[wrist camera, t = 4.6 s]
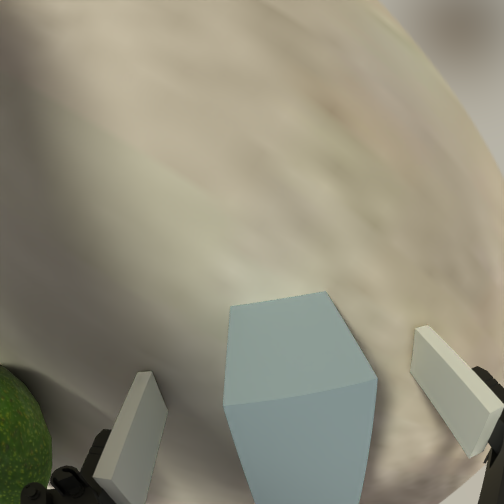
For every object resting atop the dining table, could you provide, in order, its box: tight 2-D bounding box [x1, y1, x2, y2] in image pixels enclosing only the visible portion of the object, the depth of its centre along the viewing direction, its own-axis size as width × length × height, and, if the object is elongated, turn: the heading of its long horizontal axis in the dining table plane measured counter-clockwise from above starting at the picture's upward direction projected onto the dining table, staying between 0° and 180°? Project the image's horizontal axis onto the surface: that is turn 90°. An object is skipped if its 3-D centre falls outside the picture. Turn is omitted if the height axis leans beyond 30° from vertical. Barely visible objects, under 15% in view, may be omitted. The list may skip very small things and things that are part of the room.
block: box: [223, 291, 378, 504], centre depth 12 cm, size 14×4×6 cm, turn 9°
